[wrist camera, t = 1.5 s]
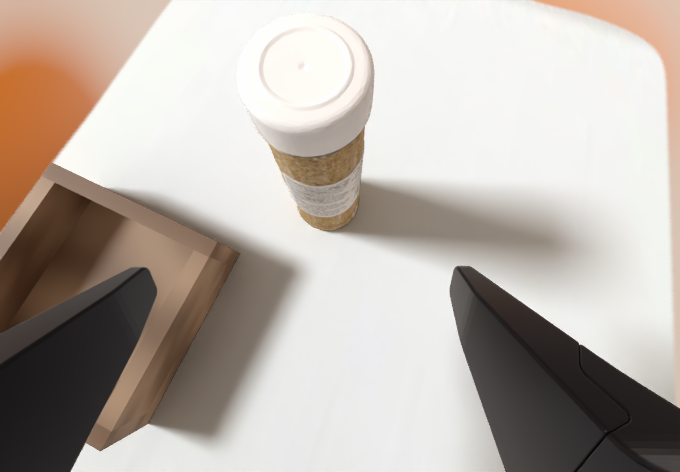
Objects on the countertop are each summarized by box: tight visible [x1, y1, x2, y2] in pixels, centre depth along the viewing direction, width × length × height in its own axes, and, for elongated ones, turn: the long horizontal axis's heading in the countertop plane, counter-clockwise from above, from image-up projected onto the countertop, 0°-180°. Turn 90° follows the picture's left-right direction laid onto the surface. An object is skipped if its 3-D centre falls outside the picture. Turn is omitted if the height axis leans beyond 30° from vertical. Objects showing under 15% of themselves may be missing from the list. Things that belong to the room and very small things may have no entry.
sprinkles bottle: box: [237, 13, 374, 230], centre depth 17 cm, size 5×5×13 cm
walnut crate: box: [0, 163, 240, 451], centre depth 20 cm, size 12×12×4 cm
